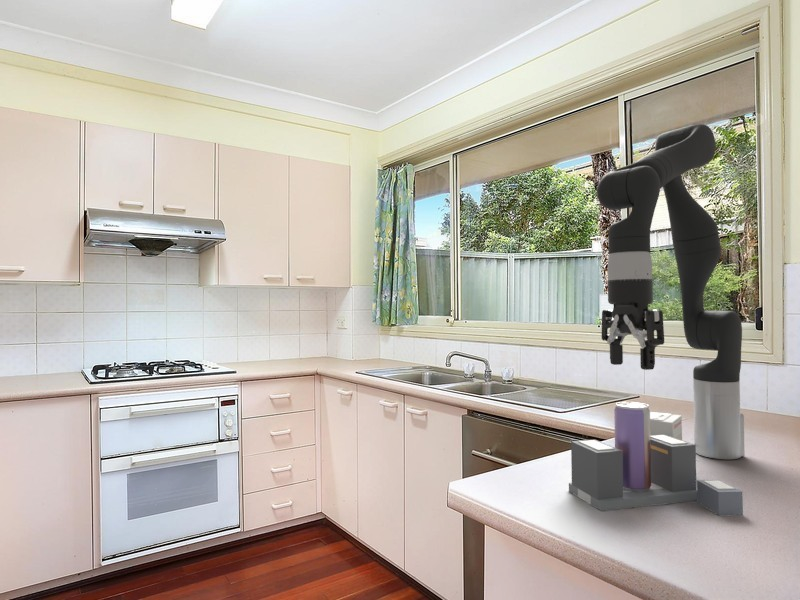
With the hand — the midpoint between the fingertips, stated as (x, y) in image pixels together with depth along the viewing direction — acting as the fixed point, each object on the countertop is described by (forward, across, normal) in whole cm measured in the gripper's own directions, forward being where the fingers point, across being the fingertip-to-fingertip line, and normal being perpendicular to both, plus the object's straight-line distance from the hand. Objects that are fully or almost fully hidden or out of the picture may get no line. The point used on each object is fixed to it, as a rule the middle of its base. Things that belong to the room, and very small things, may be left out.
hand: (631, 366), depth 96 cm
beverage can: (+22, 0, 0) cm, 22 cm away
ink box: (+24, +11, -14) cm, 30 cm away
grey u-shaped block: (+23, 0, 0) cm, 23 cm away
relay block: (+24, -9, -10) cm, 27 cm away
